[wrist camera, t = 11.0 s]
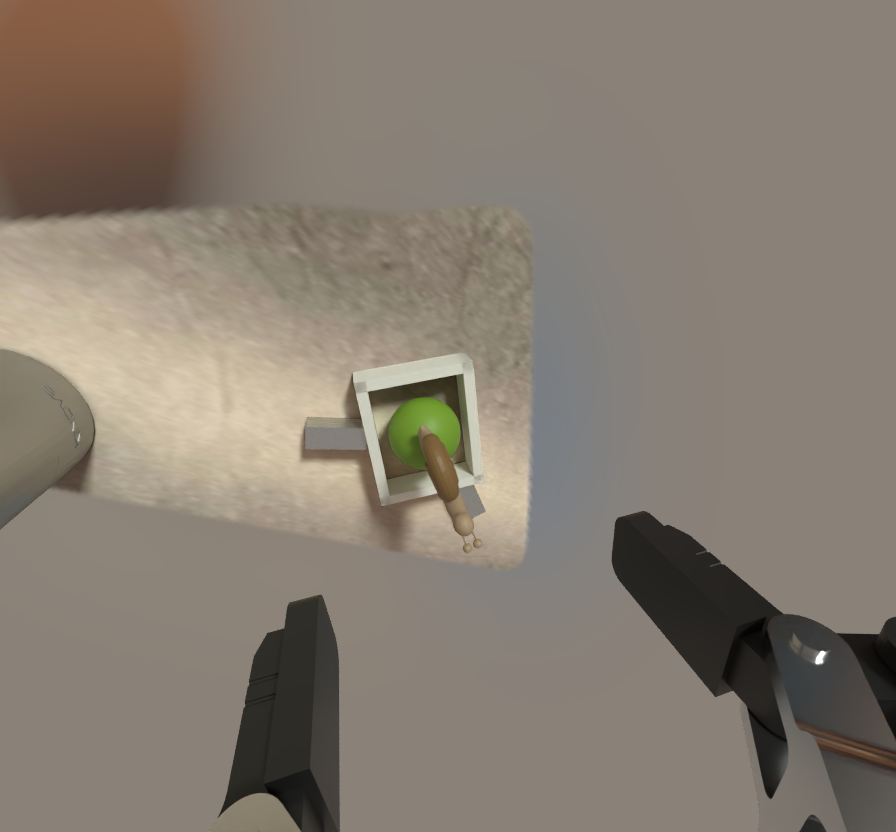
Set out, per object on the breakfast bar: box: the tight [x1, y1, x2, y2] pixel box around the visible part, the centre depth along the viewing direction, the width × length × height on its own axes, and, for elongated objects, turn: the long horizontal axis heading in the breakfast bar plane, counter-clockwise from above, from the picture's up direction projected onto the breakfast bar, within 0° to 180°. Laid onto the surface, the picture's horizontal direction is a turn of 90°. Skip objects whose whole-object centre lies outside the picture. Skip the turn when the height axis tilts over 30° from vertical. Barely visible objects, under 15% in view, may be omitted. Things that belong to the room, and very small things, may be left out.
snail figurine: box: [388, 397, 482, 553], centre depth 28 cm, size 5×6×12 cm
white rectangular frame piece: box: [305, 352, 486, 518], centre depth 32 cm, size 13×15×2 cm
